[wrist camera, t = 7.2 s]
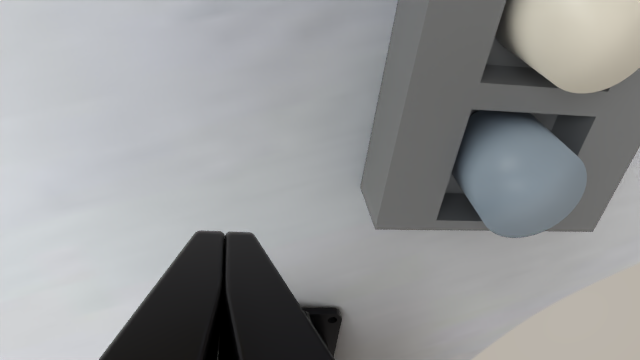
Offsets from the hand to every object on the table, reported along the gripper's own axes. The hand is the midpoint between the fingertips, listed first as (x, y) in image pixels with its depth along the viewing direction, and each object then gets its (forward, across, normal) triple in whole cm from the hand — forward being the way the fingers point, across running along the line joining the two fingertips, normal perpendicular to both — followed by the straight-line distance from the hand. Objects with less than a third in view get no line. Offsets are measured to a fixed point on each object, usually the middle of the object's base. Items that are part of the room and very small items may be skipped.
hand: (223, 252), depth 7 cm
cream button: (+11, -11, -2) cm, 16 cm away
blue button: (+11, -11, +4) cm, 16 cm away
